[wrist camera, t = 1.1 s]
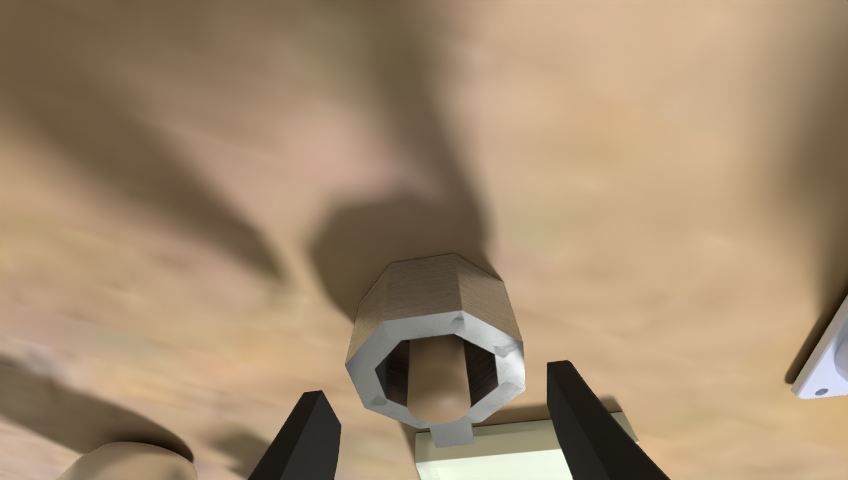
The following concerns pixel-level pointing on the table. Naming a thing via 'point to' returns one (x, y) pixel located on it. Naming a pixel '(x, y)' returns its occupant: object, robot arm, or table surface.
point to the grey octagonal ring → (432, 316)
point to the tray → (501, 453)
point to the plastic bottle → (130, 464)
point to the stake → (438, 379)
